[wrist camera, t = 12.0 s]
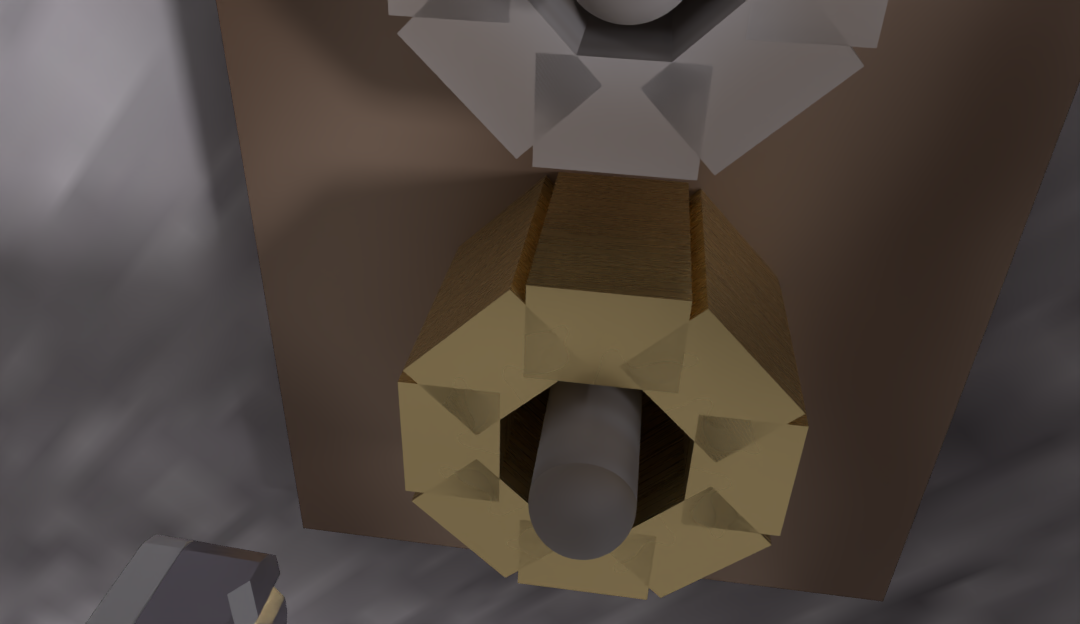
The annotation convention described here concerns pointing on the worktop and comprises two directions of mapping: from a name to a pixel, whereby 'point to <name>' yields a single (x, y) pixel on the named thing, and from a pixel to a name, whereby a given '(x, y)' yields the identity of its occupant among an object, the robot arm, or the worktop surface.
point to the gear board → (658, 154)
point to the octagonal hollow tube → (608, 380)
